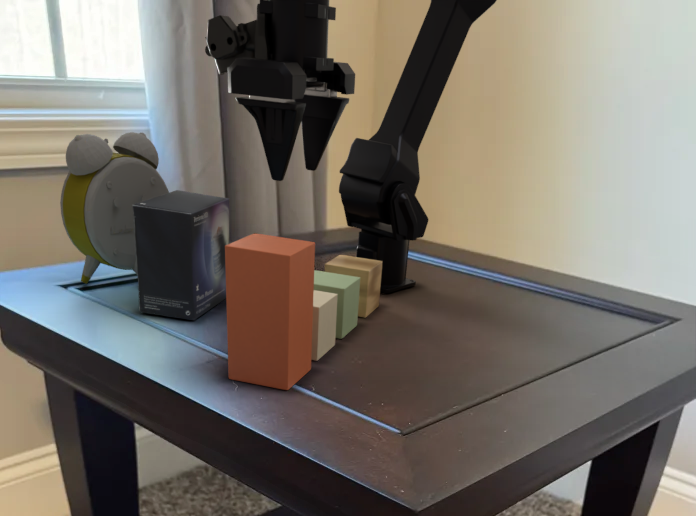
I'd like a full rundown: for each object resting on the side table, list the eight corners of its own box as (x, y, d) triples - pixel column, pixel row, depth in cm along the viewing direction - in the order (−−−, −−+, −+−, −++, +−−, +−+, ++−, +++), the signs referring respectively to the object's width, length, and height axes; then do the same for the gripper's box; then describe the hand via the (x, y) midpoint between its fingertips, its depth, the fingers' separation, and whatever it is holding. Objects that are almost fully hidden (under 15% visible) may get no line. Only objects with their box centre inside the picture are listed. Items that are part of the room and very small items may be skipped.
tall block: (255, 359, 70) (254, 232, 64) (311, 369, 69) (315, 242, 63) (228, 379, 66) (224, 245, 60) (287, 390, 65) (289, 255, 59)
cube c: (287, 336, 76) (288, 285, 74) (335, 345, 75) (337, 293, 73) (267, 351, 72) (267, 298, 70) (317, 361, 71) (319, 307, 69)
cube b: (312, 317, 82) (314, 269, 79) (357, 325, 81) (360, 277, 78) (295, 331, 78) (296, 280, 75) (341, 339, 77) (344, 288, 74)
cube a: (337, 299, 89) (339, 254, 86) (379, 306, 88) (382, 260, 85) (322, 310, 84) (324, 263, 82) (365, 318, 83) (369, 270, 81)
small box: (197, 323, 78) (192, 212, 72) (137, 314, 79) (127, 204, 73) (234, 296, 86) (232, 195, 81) (179, 288, 87) (173, 188, 82)
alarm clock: (149, 266, 94) (138, 128, 86) (188, 278, 91) (180, 136, 83) (67, 282, 86) (46, 131, 78) (107, 296, 83) (89, 140, 75)
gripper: (259, -9, 80) (260, 157, 89) (169, -26, 65) (180, 175, 74) (361, 0, 78) (351, 169, 86) (291, -16, 63) (288, 190, 71)
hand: (295, 175), depth 80 cm, fingers open, 9 cm apart
